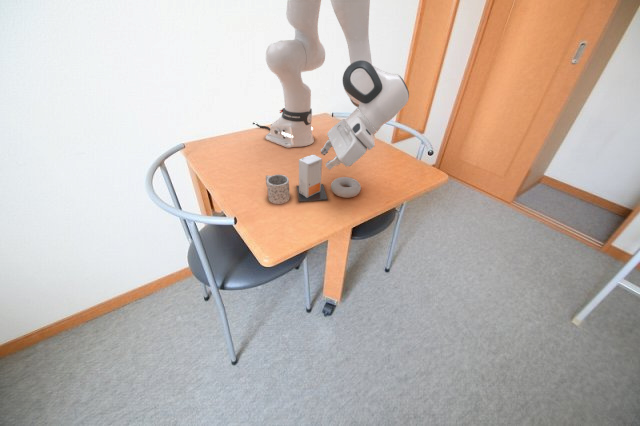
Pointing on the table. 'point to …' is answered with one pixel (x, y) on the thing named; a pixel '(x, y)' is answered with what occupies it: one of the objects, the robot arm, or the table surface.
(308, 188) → the cosmetic box
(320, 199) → the slate coaster
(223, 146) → the table surface
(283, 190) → the mug
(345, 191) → the donut
